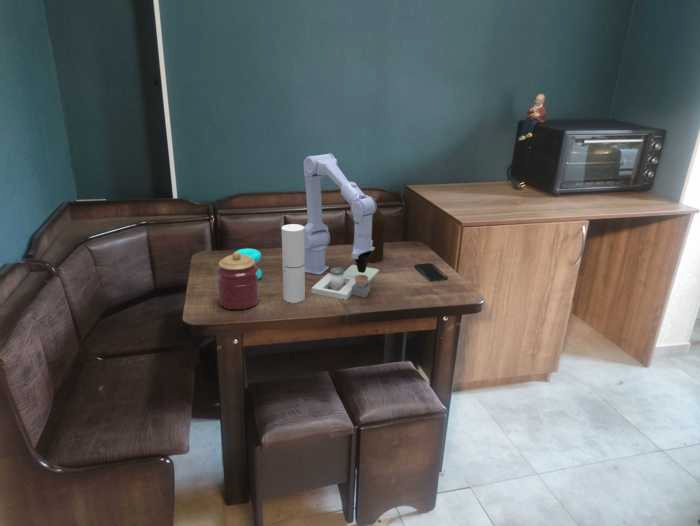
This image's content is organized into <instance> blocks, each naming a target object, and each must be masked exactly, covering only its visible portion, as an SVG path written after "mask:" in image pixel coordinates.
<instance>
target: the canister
mask: <svg viewBox="0 0 700 526" xmlns="http://www.w3.org/2000/svg"><path fill="white" fill-rule="evenodd" d="M258 267H259V266H258V265H256V263H255V260H254V259H253V258H251V257H249V256H247V255H243V254H240V253H239V252H236V251H234V252H233V253H232V254H230V255H227V256H225V257H224V258H222V259H221V260H219V262H218V267H217V269H216V273H217V275H218V277H217V287H218V301H219V305H220V304H221V305H222V306H224V307H226V308H230V309H245V308H249V307H251V308H253V307H252V306H254V305H255V306H256V305H258V303H259V301H260V300H259V299H260V292H259V279H258V276H257V273H256V272H257V271H258ZM221 305H220V306H221ZM222 306H221V307H222ZM255 306H254V307H255ZM224 307H223V308H224ZM226 308H225V309H226ZM249 309H250V308H249ZM245 310H246V309H245Z"/></svg>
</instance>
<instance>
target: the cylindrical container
mask: <svg viewBox="0 0 700 526" xmlns="http://www.w3.org/2000/svg"><path fill="white" fill-rule="evenodd" d="M304 226H305V225H304ZM304 226H303V225H302V224H296V223H290V224H284V225H282V226H281V245H282V246H281V251H282V252H281V253H282V256H281V257H282V259H281V260H282V287H283V301H284V300H285V301H284V302H286V301H287V302H286V303H288V302H290V303H289V304H297V303H298V302H299V303H302V302H304V301H305V299H306V287H305V286H306V283H305V281H306V279H305V278H306V277H305V274H306V272H305V264H304V263H305V259H304ZM303 300H304V301H303ZM301 301H302V302H301Z"/></svg>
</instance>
